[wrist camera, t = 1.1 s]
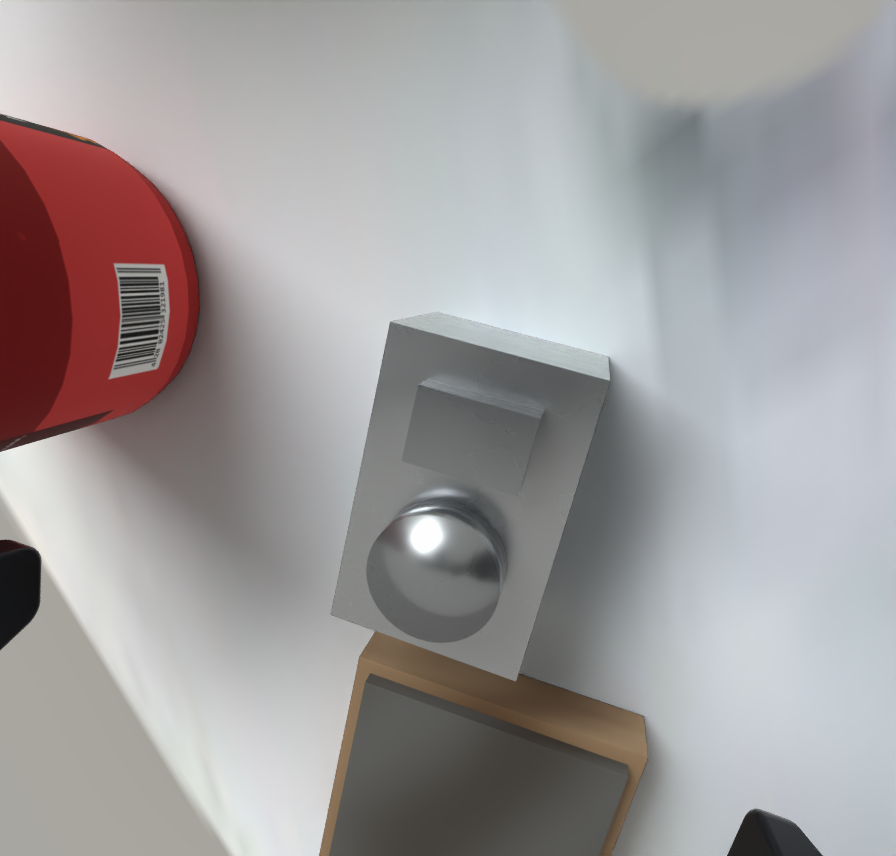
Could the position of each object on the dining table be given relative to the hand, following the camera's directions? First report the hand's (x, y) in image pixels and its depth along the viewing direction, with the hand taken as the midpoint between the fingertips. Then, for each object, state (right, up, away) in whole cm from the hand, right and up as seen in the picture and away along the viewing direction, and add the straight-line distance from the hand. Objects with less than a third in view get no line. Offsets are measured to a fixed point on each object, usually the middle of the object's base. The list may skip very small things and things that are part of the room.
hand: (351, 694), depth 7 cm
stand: (+2, -8, +12) cm, 14 cm away
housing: (+2, +2, +10) cm, 10 cm away
